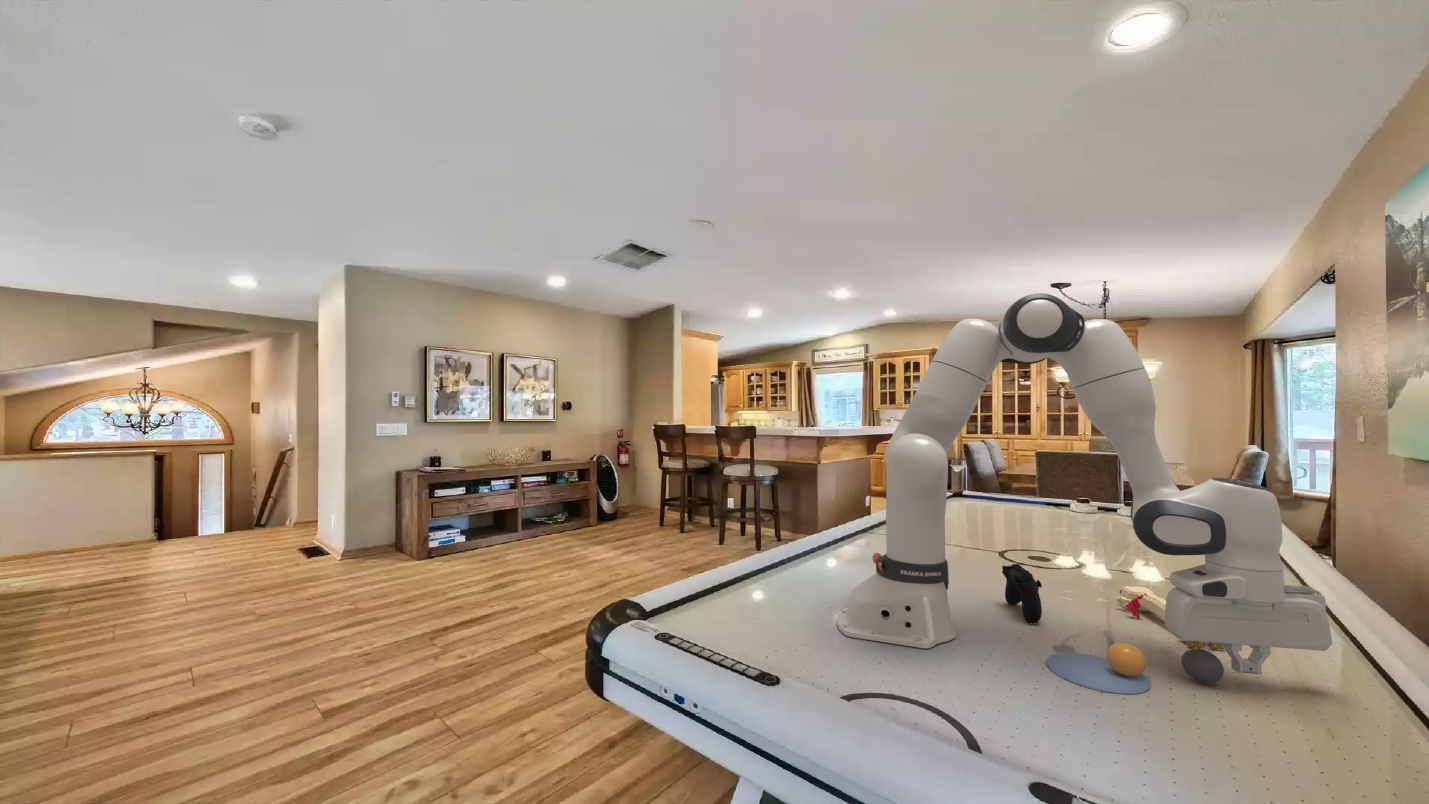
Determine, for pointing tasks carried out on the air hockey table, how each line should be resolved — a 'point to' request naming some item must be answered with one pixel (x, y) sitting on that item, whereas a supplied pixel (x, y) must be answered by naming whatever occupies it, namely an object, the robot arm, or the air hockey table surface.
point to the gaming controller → (1023, 591)
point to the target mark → (1095, 674)
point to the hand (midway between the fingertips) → (1246, 672)
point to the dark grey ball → (1202, 666)
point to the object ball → (1126, 659)
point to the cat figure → (1152, 608)
